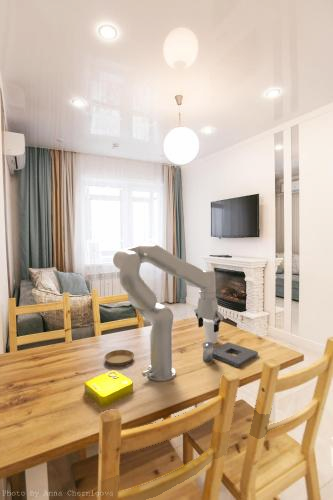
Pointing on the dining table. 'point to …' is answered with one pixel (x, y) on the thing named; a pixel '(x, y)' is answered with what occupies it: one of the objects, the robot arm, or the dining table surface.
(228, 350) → the flange
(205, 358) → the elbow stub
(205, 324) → the foam cup
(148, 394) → the dining table surface
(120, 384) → the element tile
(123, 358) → the plant saucer
